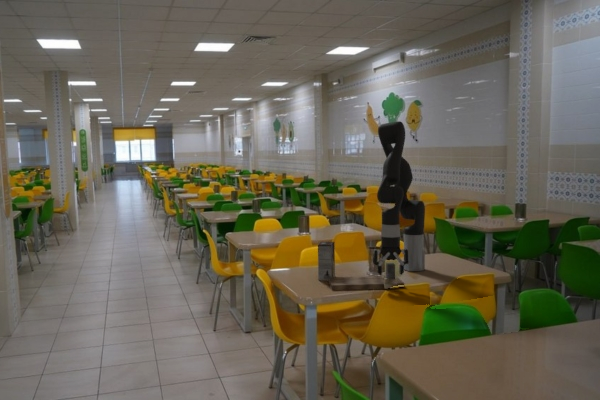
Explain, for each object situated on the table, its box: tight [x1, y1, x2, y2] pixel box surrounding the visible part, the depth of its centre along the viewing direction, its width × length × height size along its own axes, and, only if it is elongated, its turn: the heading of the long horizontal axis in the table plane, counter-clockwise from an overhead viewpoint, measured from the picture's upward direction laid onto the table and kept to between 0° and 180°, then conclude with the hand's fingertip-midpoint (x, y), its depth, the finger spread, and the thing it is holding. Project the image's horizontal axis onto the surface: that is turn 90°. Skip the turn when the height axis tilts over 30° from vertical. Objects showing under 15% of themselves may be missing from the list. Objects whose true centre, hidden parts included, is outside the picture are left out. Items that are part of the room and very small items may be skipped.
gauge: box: [381, 262, 397, 290], centre depth 219 cm, size 5×13×10 cm, turn 3°
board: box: [327, 275, 405, 291], centre depth 222 cm, size 30×14×2 cm, turn 93°
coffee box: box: [317, 241, 336, 282], centre depth 235 cm, size 9×6×16 cm
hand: (390, 274), depth 214 cm, fingers open, 8 cm apart
